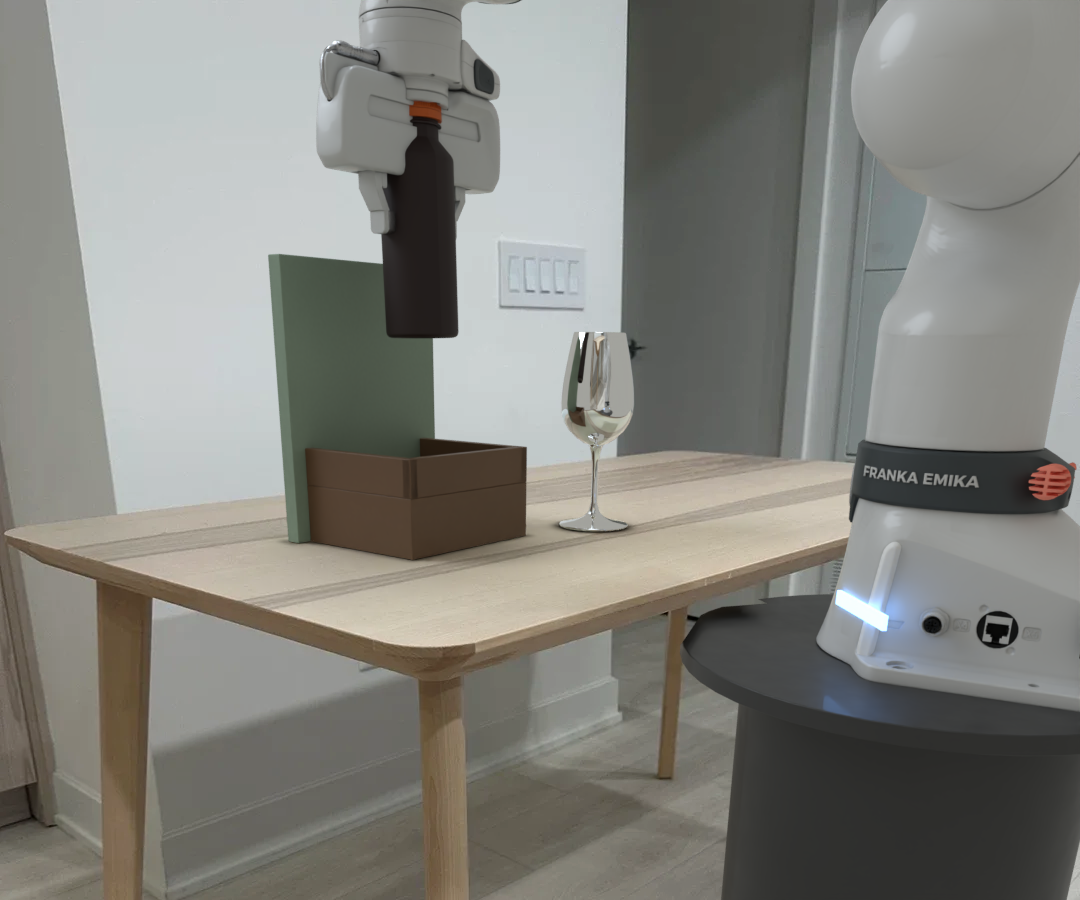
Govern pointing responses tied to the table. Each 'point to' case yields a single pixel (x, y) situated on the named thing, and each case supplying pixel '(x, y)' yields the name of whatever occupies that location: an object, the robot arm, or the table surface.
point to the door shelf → (375, 426)
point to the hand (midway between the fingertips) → (415, 238)
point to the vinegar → (422, 237)
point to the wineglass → (597, 406)
